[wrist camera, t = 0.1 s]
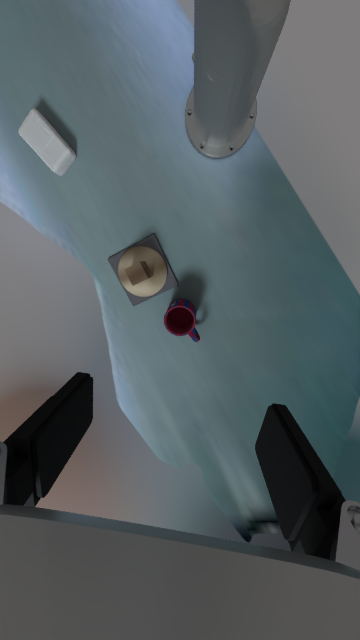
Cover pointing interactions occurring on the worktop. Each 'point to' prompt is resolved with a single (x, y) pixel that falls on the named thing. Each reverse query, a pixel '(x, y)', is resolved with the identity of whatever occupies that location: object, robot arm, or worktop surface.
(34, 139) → the soap
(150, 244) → the mat
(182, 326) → the mug
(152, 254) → the lid
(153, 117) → the worktop surface
